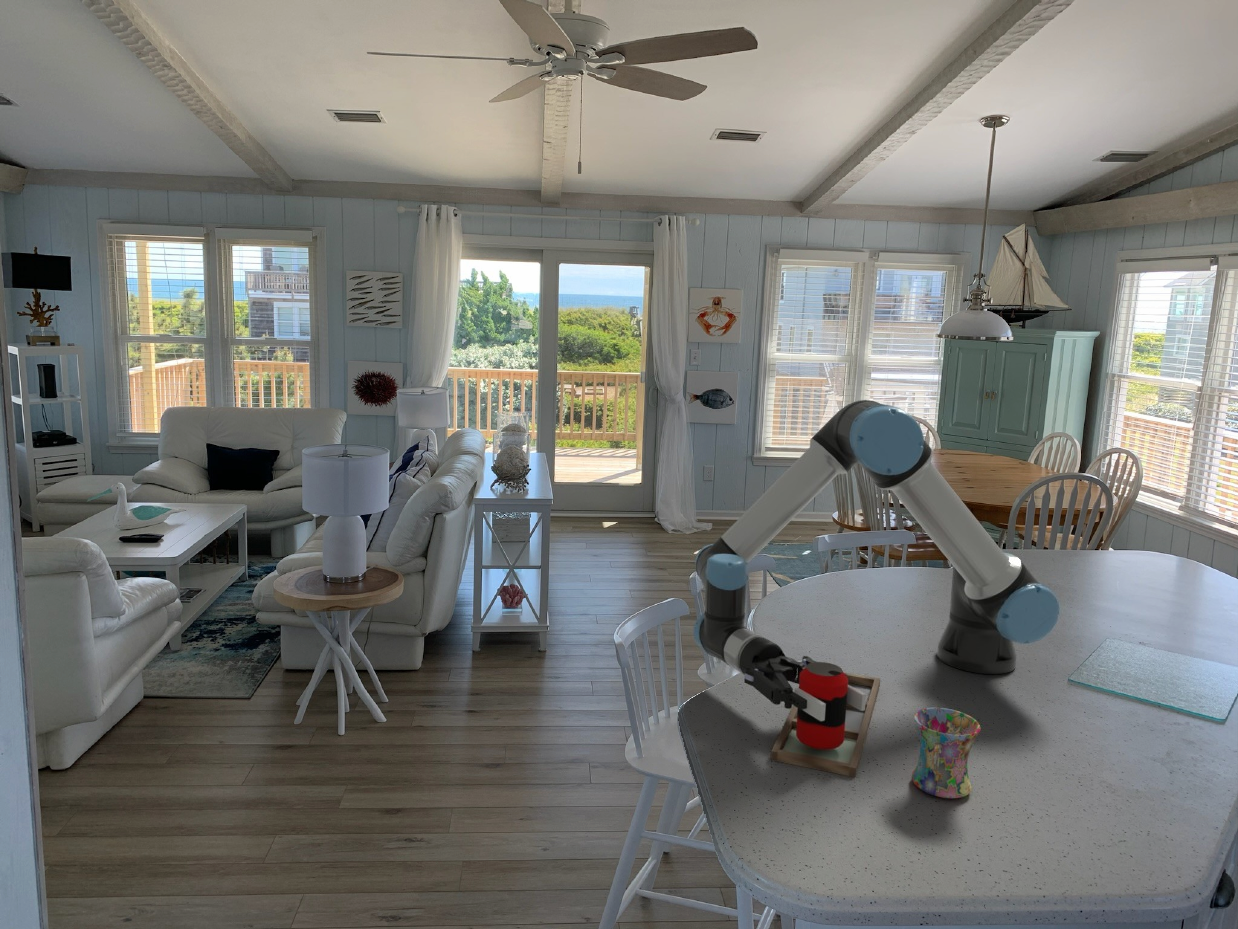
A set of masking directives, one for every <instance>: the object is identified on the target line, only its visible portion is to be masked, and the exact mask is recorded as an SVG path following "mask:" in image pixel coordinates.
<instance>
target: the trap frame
mask: <svg viewBox="0 0 1238 929" xmlns="http://www.w3.org/2000/svg"><path fill="white" fill-rule="evenodd" d="M844 673H845V674H847V678H848V684H852V683H853V685H858V684H859V686H864V687H870V686H871V687H870V688H871V691H870V694H869V696H868V697H869V698H868V701H867V702H866V703H865V710H864V711H860V710H859V709H857V708H855V707H853V706H851V705H850V704H848V703H847V704H846V718H845V733H844V742H843V743H842V744H841V745H840V746H839V747H837V748H835V749H829V750H822V749H815V748H811V747H809V746H806V745H804V744H803V743H801V742H800V741H799V739H798V738H797V736H796V726H797V710H798V708H797V707H795V706H794V705H792V708H791V710H790V712H789V713H788V715H787V718H786V720H785V723H783V726H782V729H781V730H780V732H779V735H778V736H777V739H776V741H775V743H774V745H773V747H772V749H771V752H770V760H771V761H774V762H780V763H785V764H789V765H794V766H798V767H799V766H800V767H804V768H809V769H813V770H818V771H822V772H823V771H824V772H828V773H833V774H837V775H842V776H848V777H850V778H851V777H853V778H856V776H857V772H858V769H859V766H860V762H861V757H862V755H863V751H862V750H864V746H865V744H866V740H865V739H867V736H868V731H869V727H870V724H871V720H872V717H873V714H874V708H875V706H876V702H877V698H878V695H879V691H880V688H881V678H878V677H872V676H866V675H860V674H856V673H855V674H854V673H849V672H844ZM879 687H880V688H879Z"/></svg>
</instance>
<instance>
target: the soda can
mask: <svg viewBox="0 0 1238 929" xmlns="http://www.w3.org/2000/svg"><path fill="white" fill-rule="evenodd" d="M844 673H845V672H844V671H843V668H841V667H840V666H838V665H837V664H835V663H830V662H825V661H816V662H814V663H810V664H808V665H807V666H806V667H805V668H804V669H803V670H802V671H801V672H800V676H799V684H798V688H799V689H801V690H803V691H804V692H806V693H808V694H810V695H811V696H813V697H815V698H817V699H818V700H820V701H822V702H823V703H825V704H826V707H825V720H824V721H820V720H818V719H816V718H815V717H813V716H811V715H810V714H808V713H806V712H805V711H803V710H802V709H799V708H798V710H797V726H796V736H797V738H798V739H799V741H800V742H801V743H803V744H804V745H806V746H809V747H811V748H815V749H822V750H829V749H835V748H837V747H839V746H840V745H841V744H842V743H843V742H844V733H845V718H846V704H847V690H848V685H849V683H848V678H847V677H846V675H845V674H844Z"/></svg>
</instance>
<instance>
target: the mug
mask: <svg viewBox="0 0 1238 929" xmlns="http://www.w3.org/2000/svg"><path fill="white" fill-rule="evenodd" d="M913 722H914V724H915V727H916V729H917V733H918V737H919V738H918V739H919V756H918V757H919V758H918V762H917V765H916V766H915V769H914V770H913V771H912V773H911V780H912V782H913V784H914V785H915V786H916V787H917V788H919V790H921V791H923V792H925V793H927V794H930V795H931V796H935V797H938V798H942V799H958V798H964V797H966V796H968V795H969V794H970V793H971V792H972V789H973V787H972V786H973V785H972V783H971V780H970V777H969V770H968V769H969V768H968V760H969V755H970V751H971V750H972V749H971V748H972V746H973V744H974V742H975V740H976V738H977V736H978V735H979V733H980V732H981V725H980V723H979V722H978V720H976V719H975V718H974V717H972V716H970V715H969V714H967V713H964V712H961V711H958V710H955V709H950V708H945V707H927V708H926V707H925V708H921V709H919V710H916V712H915V713H914V715H913Z"/></svg>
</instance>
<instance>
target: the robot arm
mask: <svg viewBox="0 0 1238 929" xmlns="http://www.w3.org/2000/svg"><path fill="white" fill-rule="evenodd" d="M932 457H933V449H932V448H931V447H930V445H929V444H928V442H927V441H926V440H925V438H924V433H923V430H922V427H921V425H920V424H919V423H918V421H917V420H916V419H915V418H914V417H913V416H912V415H911V414H910V413H908V412H907V411H906V410H904V409H901V408H900V407H897V406H894V405H890V404H884V403H879V402H878V401H874V400H870V399H868V400H867V399H861V400H857V401H853V402H851V403H848V404H846V405H845V406H843V407H842V408H840V409H839V410H838V412H836V413H835V414H834V415H833V416H832V417H831V418H830V419H829V420H828V421H827V422H826V423H825V424H824V425H823V426H822V427H821V428H820V429H819V430H818V431H817V432H816V433H815V434H814V435H812V437H811V438H810V440H809V447H808V449H807V450H806V451H804V453H803V454H802V455H800V456H799V458H797V459H796V460H795V462H794V463H792V465H790V467H788V469H787V470H786V471H785V472H784V473H783V474H781V476H780V477H779V478H778V479H776V481H775V482H773V484H772V485H771V486H770V487H769V488H767V490H766V491H765V492H764V493H763V494H762V495H761V496H760V497H759V498H758V499H757V500H756V501H755V502H754V503H753V504H752V505H751V506H750V507H749V508H747V510H746V511H745V512H744V513H743V514H742V515H740V517H739V518H738V519H737V520H736V521H735V522H734V523H733V524H732V525H731V526H729V528H728V529H727V530H726V531H725V532H724V533H723V534H722V536H720V537H719V538H718V539H717V540H716V541H715V542H713V543H710V544H707V545H704V546H702V548H700V549H699V550H698V552H697V554H696V556H695V560H694V561H695V562H694V563H695V564H694V566H695V572H696V575H697V577H698V578H699V580H700V581H701V583H702V584H701V585H702V586H703V589H704V593H705V598H704V613H703V614H701V615H700V616H699V617H698V618H697V619H696V622H695V625H694V626H693V627H692V628H693V630H692V636H693V639H694V641H695V643H696V645H697V646H698V647H699V648H701V649H702V650H703V651H704V652H705V653H706V654H708V655H709V656H711V657H714V658H716V659H718V660H719V661H721V662H723V663H725V664H726V665H728V666H729V667H731V668H733V669H735V670H736V671H737V672H739V673H740V674H742V675H744V677H743V679H744V683H745V684H747V685H749V686H751V687H753V688H754V689H755V690H756V691H758V692H759V693H760V695H762V696H764V697H765V698H766V699H767V700H769V701H770V702H771V703H772V704H773V705H776V706H778V705H781V702H784V703H783V704H784V706H783V707H784V708H785V709H787V710H789V709H792V707H793V705H794V706H795V707H797V708H799V709H802V710H803V711H805V712H806V713H808V714H810V715H811V716H813V717H815V718H816V719H818V720H820V721H824V720H825V707H826V704H825V703H823V702H822V701H820V700H818V699H817V698H815V697H813V696H811V695H810V694H808V693H806V692H804V691H803V690H801V689H799V687H796V688H793V687H792V685H791V684H790V682H791V683H793V684H796V685H799V676H800V672H801V671H802V670H803V669H804V668H805V667H806V666H807V665H808V664H810V663H814V662H817V661H816V660H813V659H812V658H811V657H810V656H808V655H803V656H802V659H801V660H796V659H794V658H791V657H788V656H786V655H785V653H784V651H783V649H782V648H781V647H780V646H779V645H778V644H777V643H775V642H773V641H771V640H770V639H767V638H765V637H764V636H763V635H760V634H758V633H756V632H754V631H753V630H750V629H749V628H747V627H746V626H745V622H746V621H745V619H746V618H745V617H746V603H747V602H746V601H747V600H746V599H747V597H746V596H747V584H748V578H749V576H748V564H749V563H750V562H751V561H752V560H753V558H755V557H756V555H758V554H759V553H760V552H761V551H762V550H763V549H764V548H765V547H766V546H767V545H768V544H769V543H770V542H771V541H772V540H773V539H774V537H776V536H777V535H778V534H779V533H780V532H781V531H782V530H783V529H784V528H785V527H786V526H787V525H788V524H789V523H790V522H791V521H792V520H793V519H794V518H795V517H796V516H797V515H798V514H799V513H800V512H801V511H803V509H805V508H806V506H808V504H810V502H811V501H812V500H813V499H815V497H817V496H818V495H819V494H820V493H821V492H822V491H823V490H824V488H826V487H827V486H828V485H829V483H831V482H833V481H832V480H833V479H835V478H836V477H837V475H846V474H847V473H848V472H849V471H850V470H851V469H853V467H855V465H857V464H858V465H860V467H861V468H862V469H863V471H865V473H866V474H867V475H868V477H869V478H870V479H871V480H872V482H873V483H874V484H875V485H876V486H877V488H878V489H880V490H883V491H885V490H886V491H892V492H893V494H894V496H896V497H897V499H898V500H899V501H900V502H901V504H902V505H903V506H904V507H905V508H906V510H907V511H908V512H909V514H911V516H912V517H913V518H914V519H915V520H916V522H917V524H919V526H920V527H921V528H922V529H923V531H924V532H925V533H926V534H927V535H928V537H929V538H930V539H931V540H932V541H933V543H934V544H935V545H936V547H937V548H938V549H939V550H940V552H941V553H942V554H943V556H945V557H946V559H947V560H948V561H949V563H950V564H951V565H952V570H953V571H952V581H951V582H952V583H951V592H950V593H951V594H950V595H951V596H950V607H949V615H948V616H949V617H948V622H947V624H946V626H945V628H944V630H943V632H942V634H941V636H940V639H939V641H938V644H937V651H936V655H937V658H938V659H939V660H940V661H941V662H943V663H944V664H946V665H948V666H950V667H953V668H955V669H959V670H962V671H966V672H971V673H975V674H984V675H1000V674H1001V675H1002V674H1007V673H1010V672H1012V671H1014V670H1015V669H1016V665H1017V652H1016V648H1015V645H1014V644H1015V643H1017V644H1023V645H1024V644H1032V643H1036V642H1038V641H1039V642H1040V640H1041V641H1042V639H1044V638H1046V637H1047V636H1049V634H1050V633H1051V632H1052V631H1053V630H1054V629H1055V627H1056V625H1057V623H1058V621H1059V619H1058V618H1059V616H1060V612H1061V611H1060V610H1061V609H1060V608H1061V607H1060V601H1059V600H1058V598H1057V596H1056V595H1055V593H1054V592H1053V591H1052V590H1051V589H1050V588H1049V587H1047V586H1046V585H1044V584H1041V583H1040V582H1039V581H1038V580H1037V579H1036V578H1035V577H1034V575H1033V574H1032V573H1031V572H1030V571H1029V569H1028V568H1027V567H1026V566H1025V565H1024V563H1023V562H1022V561H1021V559H1020V558H1019V557H1018V556H1016V555H1015V554H1011V553H1008V552H1004V551H1003V550H1002V549H1001V547H999V545H998V544H997V543H996V541H995V540H994V539H993V538H992V536H991V535H990V534H989V533H988V532H987V531H986V529H985V528H984V526H983V525H982V524H981V523H980V521H979V520H978V519H977V517H975V515H974V514H973V513H972V511H971V510H970V509H969V508H968V506H967V505H966V504H965V503H964V502H963V501H962V499H961V498H960V497H959V495H958V494H957V493H956V491H955V490H954V489H953V488H952V487H951V485H950V484H949V483H948V482H947V480H946V479H945V478H944V476H943V475H942V474H941V473H940V472H939V470H938V469H937V468H936V467H935V465H934V464H933V463H932ZM845 673H846V672H844V674H845ZM845 675H846V677H847V674H845ZM866 701H867V693H865V692H863V691H862V690H859V689H857V688H856V687H854V686H852V685H850V684H848V690H847V703H848V704H850V705H851V706H853V707H855V708H857V709H859V710H860V711H864V710H865V703H866Z"/></svg>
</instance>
